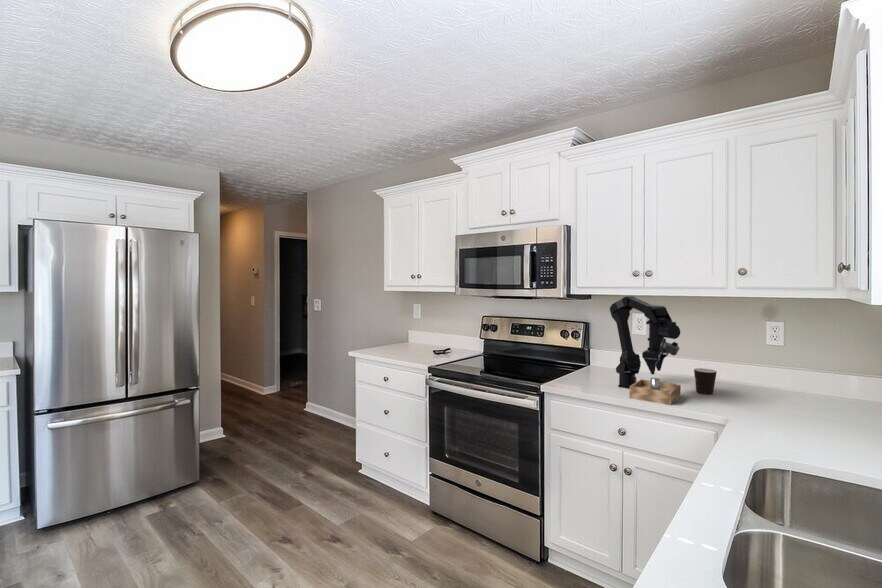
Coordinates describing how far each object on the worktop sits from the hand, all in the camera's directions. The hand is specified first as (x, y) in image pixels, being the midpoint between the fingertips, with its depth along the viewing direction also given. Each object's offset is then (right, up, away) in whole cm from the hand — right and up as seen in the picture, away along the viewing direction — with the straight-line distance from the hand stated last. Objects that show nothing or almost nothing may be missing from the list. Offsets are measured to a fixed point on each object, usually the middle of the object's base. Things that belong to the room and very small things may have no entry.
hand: (655, 372), depth 190 cm
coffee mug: (+26, -11, +9) cm, 30 cm away
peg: (0, -11, +1) cm, 11 cm away
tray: (0, -11, +1) cm, 11 cm away
